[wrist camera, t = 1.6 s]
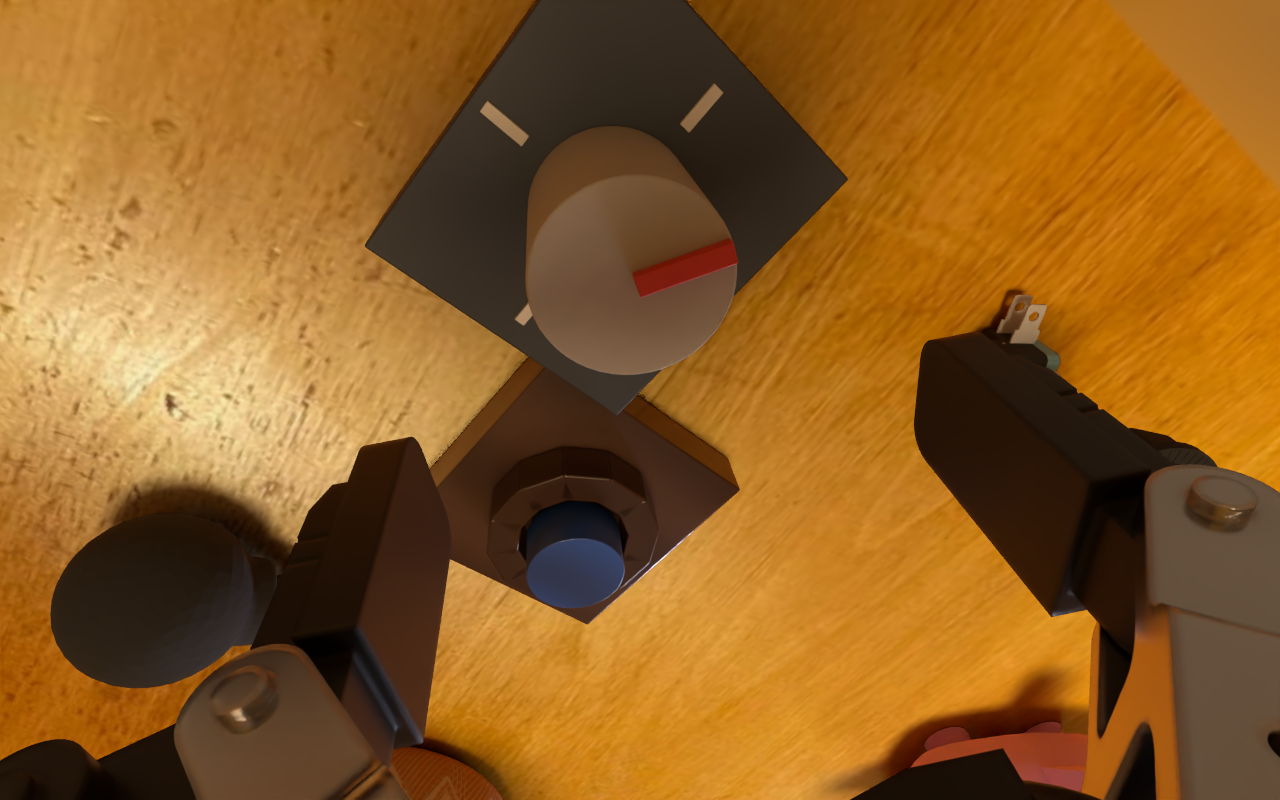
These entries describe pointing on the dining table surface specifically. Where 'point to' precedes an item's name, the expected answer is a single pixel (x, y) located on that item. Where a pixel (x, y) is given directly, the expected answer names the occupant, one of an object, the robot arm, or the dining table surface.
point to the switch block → (574, 478)
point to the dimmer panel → (580, 100)
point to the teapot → (1020, 752)
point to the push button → (1022, 341)
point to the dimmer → (624, 254)
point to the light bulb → (159, 600)
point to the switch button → (574, 555)
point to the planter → (438, 777)
